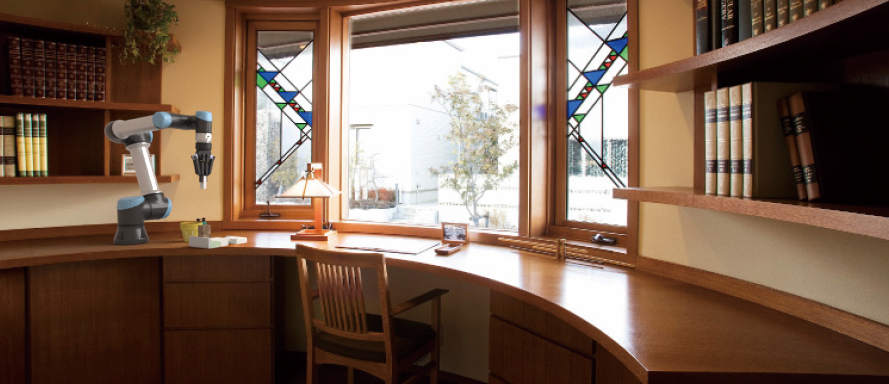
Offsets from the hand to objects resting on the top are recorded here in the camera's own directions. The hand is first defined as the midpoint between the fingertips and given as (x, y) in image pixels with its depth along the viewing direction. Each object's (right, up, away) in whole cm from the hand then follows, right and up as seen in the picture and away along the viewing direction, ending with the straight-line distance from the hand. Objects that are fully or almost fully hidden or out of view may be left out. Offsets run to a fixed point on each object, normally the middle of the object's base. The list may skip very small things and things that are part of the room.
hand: (203, 188), depth 254 cm
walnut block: (+5, -26, -9) cm, 28 cm away
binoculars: (-15, -27, +26) cm, 40 cm away
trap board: (+9, -28, -1) cm, 29 cm away
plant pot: (-10, -28, +8) cm, 30 cm away
